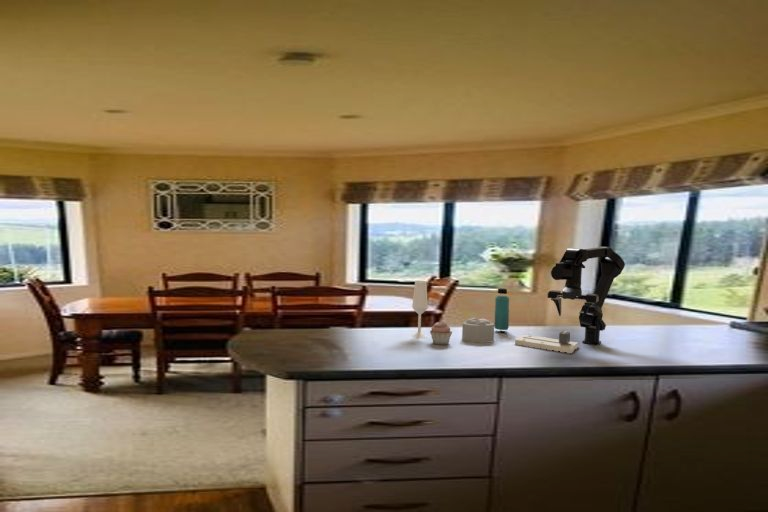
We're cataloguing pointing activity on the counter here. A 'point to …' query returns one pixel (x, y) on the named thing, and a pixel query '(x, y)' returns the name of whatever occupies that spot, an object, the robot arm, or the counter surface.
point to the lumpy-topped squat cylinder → (478, 330)
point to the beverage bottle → (501, 310)
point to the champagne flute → (420, 304)
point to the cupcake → (440, 333)
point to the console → (546, 343)
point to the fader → (564, 337)
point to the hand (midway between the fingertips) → (571, 317)
